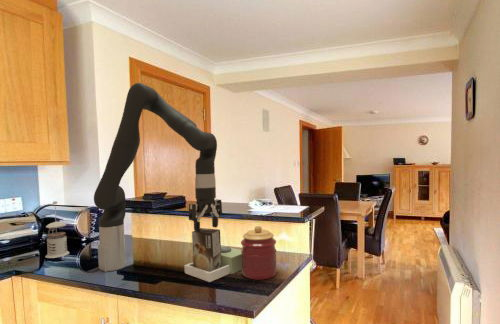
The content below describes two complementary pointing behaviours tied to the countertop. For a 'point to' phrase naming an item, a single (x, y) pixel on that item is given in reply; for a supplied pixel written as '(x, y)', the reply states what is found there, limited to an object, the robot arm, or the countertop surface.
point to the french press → (56, 240)
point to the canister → (258, 254)
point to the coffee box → (207, 249)
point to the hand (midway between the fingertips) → (206, 229)
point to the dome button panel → (230, 265)
